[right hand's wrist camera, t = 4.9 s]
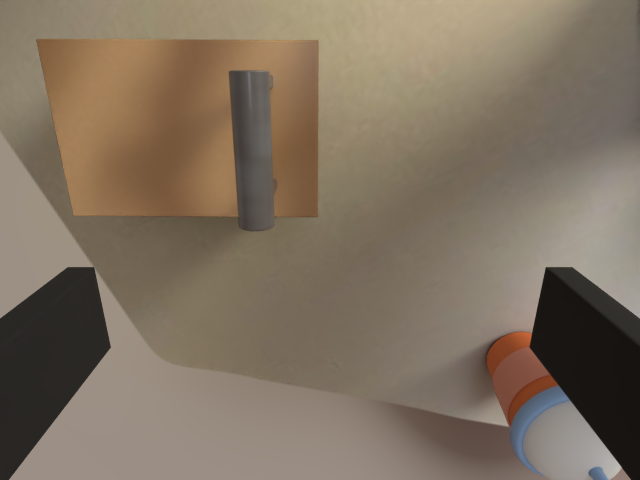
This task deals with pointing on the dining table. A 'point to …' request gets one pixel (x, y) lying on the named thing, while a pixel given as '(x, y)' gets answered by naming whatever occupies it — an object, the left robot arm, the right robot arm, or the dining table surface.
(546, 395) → the cup with straw
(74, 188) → the lid
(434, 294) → the dining table surface
